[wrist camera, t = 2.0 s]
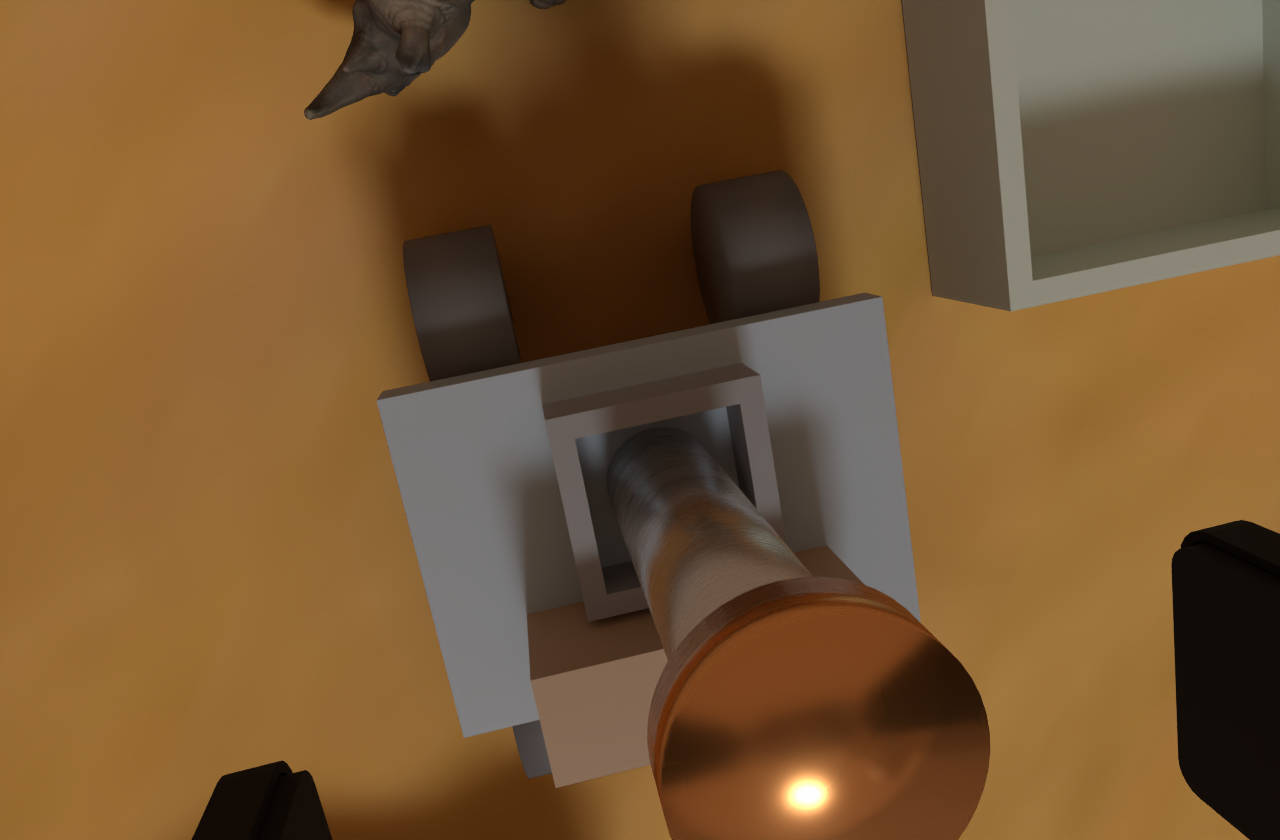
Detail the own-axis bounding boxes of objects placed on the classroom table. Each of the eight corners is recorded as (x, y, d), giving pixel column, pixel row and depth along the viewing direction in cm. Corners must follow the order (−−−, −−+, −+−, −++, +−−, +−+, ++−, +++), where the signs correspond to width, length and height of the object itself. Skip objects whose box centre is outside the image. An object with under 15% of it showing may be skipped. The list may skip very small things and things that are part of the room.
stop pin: (726, 384, 20) (973, 578, 10) (751, 537, 21) (1003, 872, 10) (564, 418, 20) (632, 660, 9) (596, 572, 21) (692, 955, 10)
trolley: (793, 166, 24) (928, 146, 17) (859, 644, 28) (996, 813, 20) (373, 245, 23) (308, 264, 16) (494, 733, 27) (490, 946, 19)
